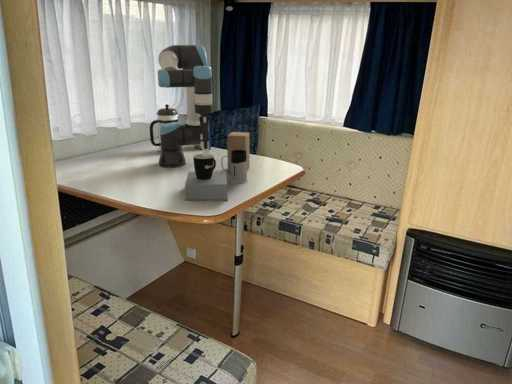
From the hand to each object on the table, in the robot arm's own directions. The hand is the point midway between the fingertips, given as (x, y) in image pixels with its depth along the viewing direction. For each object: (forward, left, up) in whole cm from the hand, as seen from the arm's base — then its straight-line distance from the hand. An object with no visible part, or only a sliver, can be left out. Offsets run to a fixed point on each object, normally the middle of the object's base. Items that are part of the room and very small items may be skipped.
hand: (204, 151), depth 185 cm
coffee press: (-82, -19, -20) cm, 86 cm away
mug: (-1, 0, -12) cm, 12 cm away
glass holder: (-16, +15, -20) cm, 29 cm away
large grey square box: (0, 0, -20) cm, 20 cm away
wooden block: (-36, +20, -20) cm, 45 cm away
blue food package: (-91, +3, -20) cm, 93 cm away
